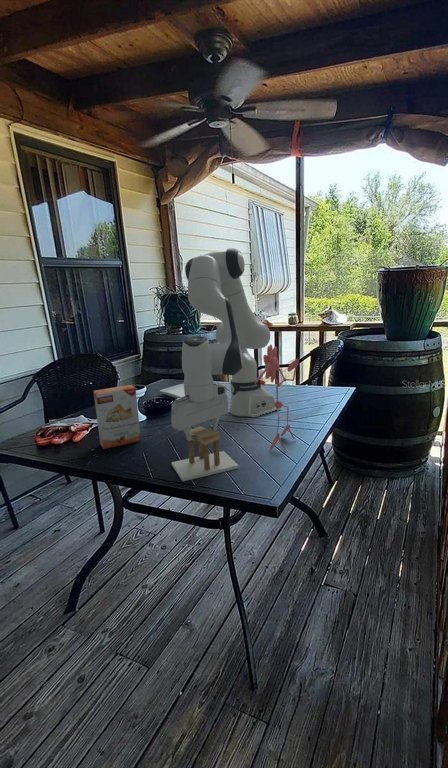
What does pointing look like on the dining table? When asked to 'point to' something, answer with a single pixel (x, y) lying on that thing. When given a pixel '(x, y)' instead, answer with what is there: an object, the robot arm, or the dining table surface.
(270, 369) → the pink stick figure
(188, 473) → the white board
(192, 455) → the oak stool
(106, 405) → the cracker box
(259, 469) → the dining table surface
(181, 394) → the salad plate
